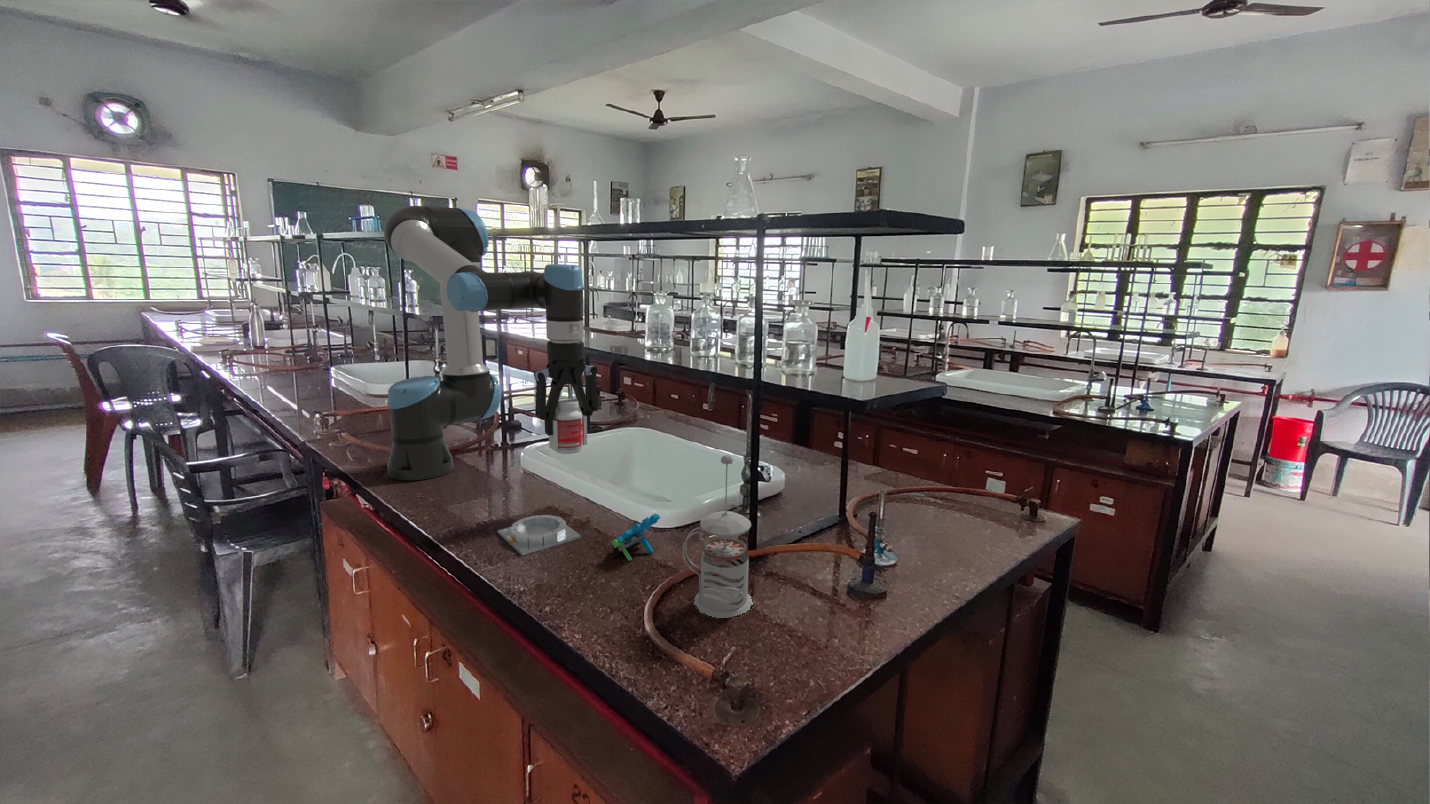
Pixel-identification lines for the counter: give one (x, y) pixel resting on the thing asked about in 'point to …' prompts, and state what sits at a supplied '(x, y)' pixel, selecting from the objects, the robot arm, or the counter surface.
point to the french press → (723, 563)
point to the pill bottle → (569, 426)
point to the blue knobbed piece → (638, 533)
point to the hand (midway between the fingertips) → (568, 445)
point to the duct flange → (538, 533)
